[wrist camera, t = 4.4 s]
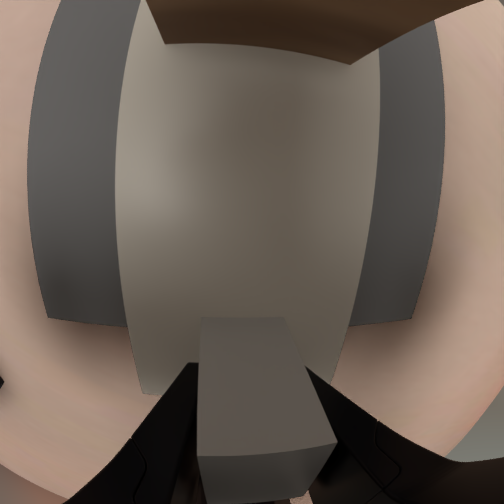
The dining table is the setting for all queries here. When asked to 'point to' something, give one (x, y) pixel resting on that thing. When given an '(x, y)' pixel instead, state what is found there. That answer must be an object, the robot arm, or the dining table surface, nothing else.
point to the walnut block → (298, 23)
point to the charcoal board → (104, 157)
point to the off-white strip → (244, 242)
